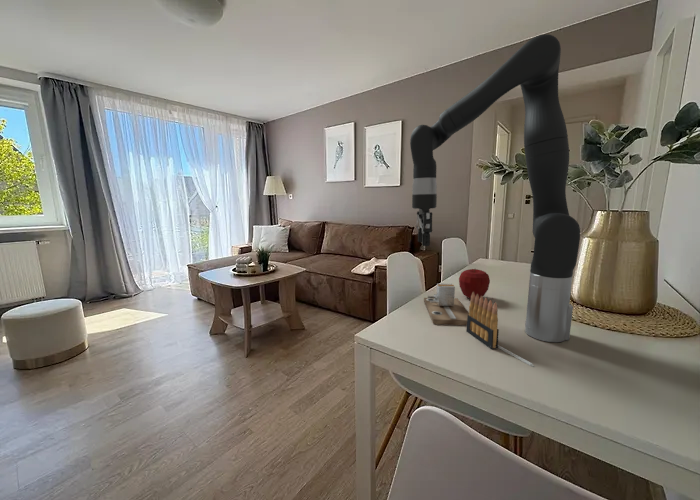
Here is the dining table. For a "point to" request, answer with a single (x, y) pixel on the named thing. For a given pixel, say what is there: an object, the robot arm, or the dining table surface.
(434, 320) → the sliding latch plate
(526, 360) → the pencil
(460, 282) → the apple
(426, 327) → the dining table surface
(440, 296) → the grey latch block
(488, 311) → the ammunition clip
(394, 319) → the dining table surface
